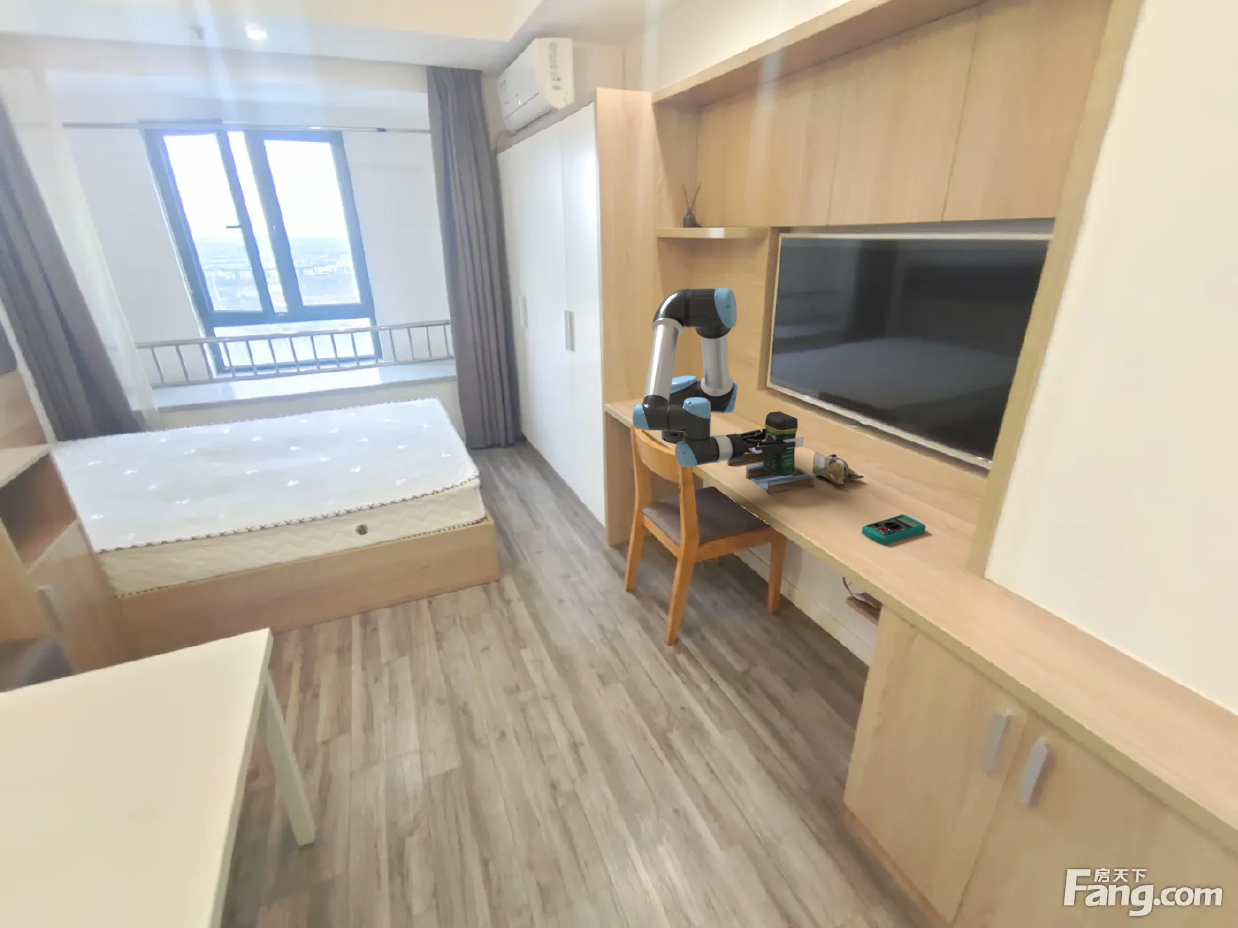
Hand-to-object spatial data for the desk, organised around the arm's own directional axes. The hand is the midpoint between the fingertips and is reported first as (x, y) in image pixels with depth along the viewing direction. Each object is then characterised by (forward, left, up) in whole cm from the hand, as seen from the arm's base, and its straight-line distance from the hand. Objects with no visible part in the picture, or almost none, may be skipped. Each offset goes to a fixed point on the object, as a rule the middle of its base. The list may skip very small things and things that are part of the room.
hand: (793, 437), depth 169 cm
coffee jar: (0, -5, -11) cm, 12 cm away
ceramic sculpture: (+5, +12, -15) cm, 19 cm away
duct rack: (-6, -5, -14) cm, 16 cm away
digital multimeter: (+38, +4, -15) cm, 41 cm away
